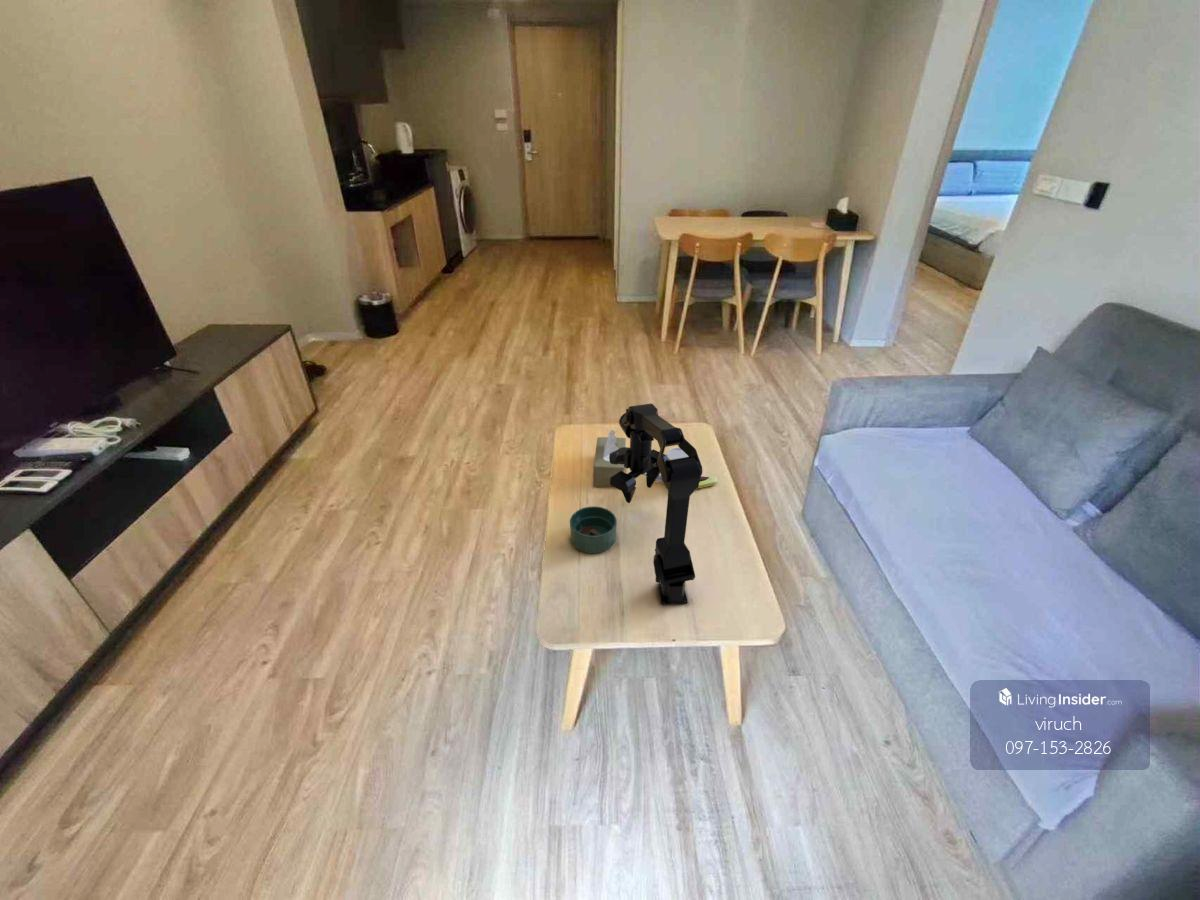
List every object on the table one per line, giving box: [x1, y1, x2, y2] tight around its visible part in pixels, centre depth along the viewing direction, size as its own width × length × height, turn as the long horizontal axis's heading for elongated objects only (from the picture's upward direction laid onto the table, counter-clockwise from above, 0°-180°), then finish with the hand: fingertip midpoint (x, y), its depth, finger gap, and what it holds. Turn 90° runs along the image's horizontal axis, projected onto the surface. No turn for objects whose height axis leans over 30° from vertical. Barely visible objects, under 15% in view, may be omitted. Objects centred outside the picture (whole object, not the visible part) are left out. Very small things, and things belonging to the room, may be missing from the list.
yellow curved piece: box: [642, 473, 719, 489], centre depth 175 cm, size 8×3×25 cm
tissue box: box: [592, 429, 627, 489], centre depth 176 cm, size 19×10×16 cm, turn 176°
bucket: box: [569, 505, 618, 554], centre depth 151 cm, size 13×13×6 cm
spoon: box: [581, 526, 602, 536], centre depth 152 cm, size 9×4×2 cm, turn 48°
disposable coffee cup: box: [665, 447, 689, 460], centre depth 170 cm, size 10×10×12 cm
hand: (638, 494), depth 150 cm, fingers open, 9 cm apart
